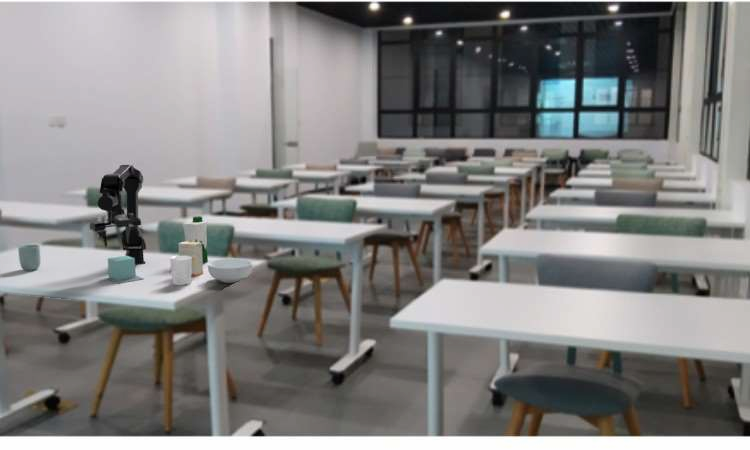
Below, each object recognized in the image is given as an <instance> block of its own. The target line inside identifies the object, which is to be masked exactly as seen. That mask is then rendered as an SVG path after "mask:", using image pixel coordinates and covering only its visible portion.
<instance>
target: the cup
mask: <svg viewBox="0 0 750 450" xmlns="http://www.w3.org/2000/svg"><path fill="white" fill-rule="evenodd" d="M17 249H18V250H17V251H18V260H19V265H20V267H21V269H22V270H24V271H27V272H29V271H31V272H32V271H35V270H38V269H39V268H40V266H41V261H42V260H41V258H42V257H41V246H40V245H39V244H24V245H20V246H18V248H17Z"/></svg>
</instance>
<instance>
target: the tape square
mask: <svg viewBox="0 0 750 450" xmlns="http://www.w3.org/2000/svg"><path fill="white" fill-rule="evenodd" d="M107 279H108V280H109V281H112V282H114V283H117V284H124V283H129V282H130V283H131V282H135V281H140V280H144V278H143V277H140V276H138V275H136V277H133V278H128V279H122V280H115V279H113V278H109V277H108V278H107Z"/></svg>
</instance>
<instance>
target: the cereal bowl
mask: <svg viewBox="0 0 750 450" xmlns="http://www.w3.org/2000/svg"><path fill="white" fill-rule="evenodd" d="M207 269H208V273H209V275H210V276H211V278H213V279H215V280H218V281H220V282H221V283H227V284H229V283H230V284H232V283H233V284H234V283H237V282H240V281H242V280H244V279H245V278H248V276H250V275H251V274H252V271H253V262H252V261H251V260H248V259H244V258H221V259H216V260H212V261H209V262H207Z"/></svg>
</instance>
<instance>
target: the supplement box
mask: <svg viewBox="0 0 750 450" xmlns="http://www.w3.org/2000/svg"><path fill="white" fill-rule="evenodd" d="M178 256H191V257H192V271H191V276H194V277H195V276H196V277H197V276H200V275H203V274H204V265H203V264H204V263H203V261H202V242H187V241H185V240H184V241H182V242H179V243H178Z"/></svg>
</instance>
